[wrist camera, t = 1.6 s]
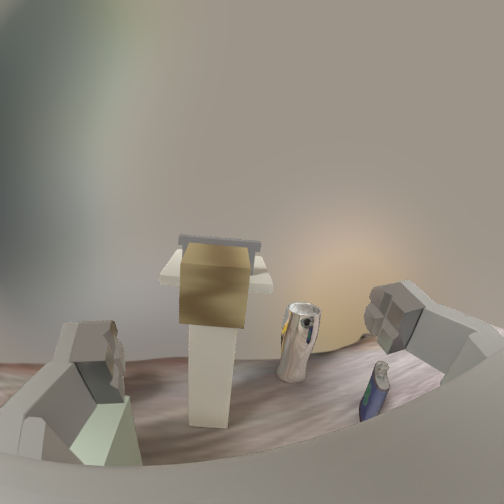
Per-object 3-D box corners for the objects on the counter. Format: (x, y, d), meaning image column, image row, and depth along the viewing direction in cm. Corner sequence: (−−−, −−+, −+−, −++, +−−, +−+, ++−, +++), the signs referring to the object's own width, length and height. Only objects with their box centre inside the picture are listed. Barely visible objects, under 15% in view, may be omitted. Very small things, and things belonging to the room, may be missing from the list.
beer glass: (274, 383, 55) (287, 314, 51) (273, 364, 62) (283, 299, 58) (309, 385, 55) (326, 317, 51) (305, 366, 62) (318, 302, 58)
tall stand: (166, 441, 37) (160, 239, 30) (176, 393, 48) (179, 222, 42) (248, 447, 38) (278, 249, 31) (243, 398, 49) (264, 230, 43)
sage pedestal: (50, 526, 16) (-8, 454, 13) (77, 458, 29) (48, 376, 25) (130, 552, 17) (93, 496, 14) (145, 474, 30) (129, 396, 26)
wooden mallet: (179, 323, 23) (180, 262, 21) (196, 264, 35) (198, 222, 33) (243, 328, 23) (251, 268, 22) (239, 268, 35) (243, 226, 34)
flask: (373, 429, 42) (394, 380, 40) (357, 426, 43) (377, 378, 41) (373, 398, 51) (390, 352, 48) (359, 396, 51) (375, 350, 49)
